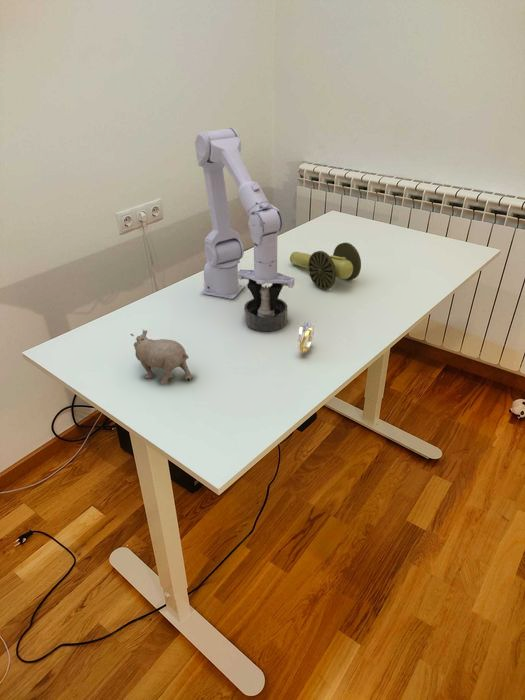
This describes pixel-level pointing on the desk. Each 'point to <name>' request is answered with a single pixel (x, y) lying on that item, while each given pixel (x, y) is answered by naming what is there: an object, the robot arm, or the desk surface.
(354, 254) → the cannon
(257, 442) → the desk surface
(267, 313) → the rook chess piece
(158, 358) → the brown animal figurine
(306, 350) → the ring
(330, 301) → the desk surface
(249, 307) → the bowl
